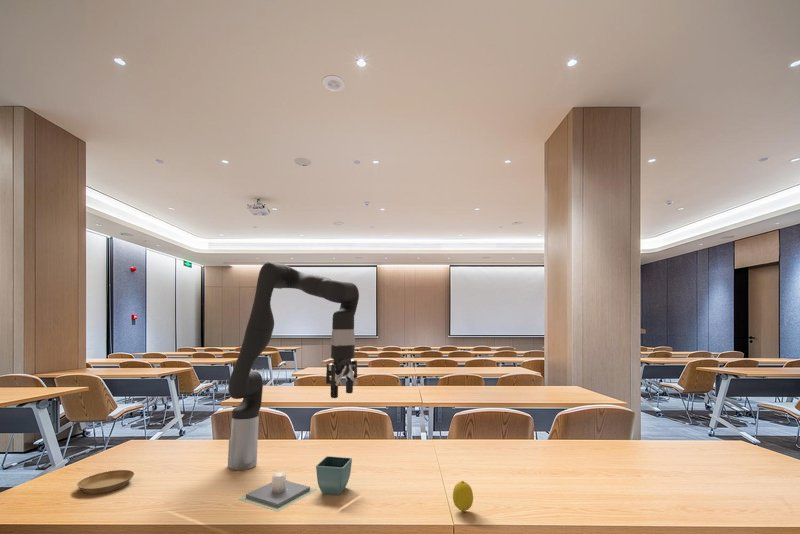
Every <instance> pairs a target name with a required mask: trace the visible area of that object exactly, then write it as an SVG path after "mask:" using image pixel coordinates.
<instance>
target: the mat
mask: <svg viewBox="0 0 800 534" xmlns="http://www.w3.org/2000/svg"><path fill="white" fill-rule="evenodd" d="M317 490H318V489H317V488H313V487H310V491H308V492H306V493H304V494H302V495H300V496H299V497H297V498H295V499H293V500H291V501H290V502H288V503H286V504H284V505H282V506H280V507H279V508H277V507H274V506H270V505H267V504H264V503H261V502H257V501H254V500H251V499H248V498H246V494H245V495H243V496H241V497H239V498H238V500H239V501H242V502H246V503H250V504H253V505H256V506H259V507H262V508H265V509H269V510H272V511H275V512H280V511H281V510H283V509H285V508H287V507H288V506H290V505H292V504H294V503H295V502H297V501H299V500H301V499H303V498H305V497H307V496H308V495H311V493H313V492H316V491H317Z"/></svg>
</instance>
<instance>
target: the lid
mask: <svg viewBox="0 0 800 534" xmlns="http://www.w3.org/2000/svg"><path fill="white" fill-rule="evenodd" d="M310 488H311V487H310V486H308V485H304V484H300V483H296V482H292V481H290V480H287V473H286V472H281V471H280V472H276V473H273V474H272V475H271V482H269V483H267V484H265V485H263V486H260V487H258V488H257V489H255V490H252V491H250V492H247V493H246V494H245V495H246V498H248V499H251V500H254V501H257V502H261V503H264V504H267V505H270V506H274V507H277V508H279V507H280V506H282V505H284V504H286V503H288V502H290V501H291V500H293V499H295V498H297V497H299V496H300V495H302V494H304V493H306V492H308V491H310Z"/></svg>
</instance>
